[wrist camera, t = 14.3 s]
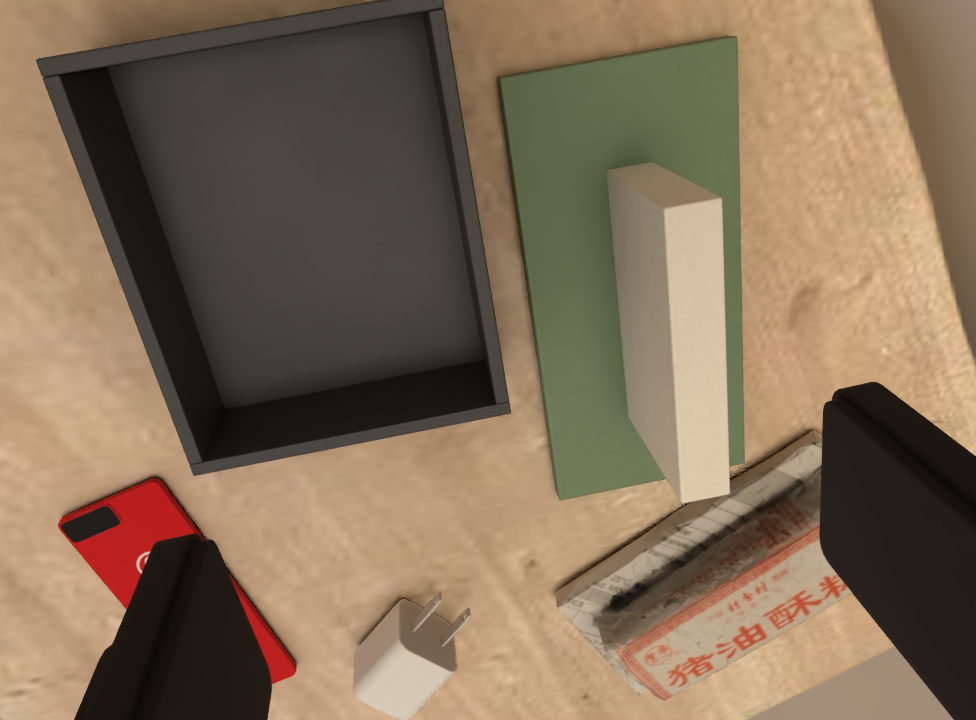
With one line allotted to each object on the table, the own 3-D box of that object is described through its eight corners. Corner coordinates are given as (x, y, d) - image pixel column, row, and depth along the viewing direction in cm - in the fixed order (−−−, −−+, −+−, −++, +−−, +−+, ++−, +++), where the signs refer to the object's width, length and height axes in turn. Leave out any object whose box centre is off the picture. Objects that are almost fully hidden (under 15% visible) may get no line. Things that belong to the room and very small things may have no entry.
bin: (91, 53, 31) (34, 59, 26) (433, -5, 32) (441, -11, 27) (218, 417, 38) (193, 476, 33) (495, 363, 39) (511, 413, 34)
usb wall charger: (355, 643, 45) (352, 698, 41) (425, 564, 43) (428, 613, 40) (410, 670, 46) (411, 725, 43) (479, 594, 45) (487, 645, 41)
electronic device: (299, 667, 45) (158, 474, 39) (298, 674, 45) (155, 480, 38) (211, 703, 45) (57, 517, 39) (209, 711, 45) (53, 524, 39)
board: (605, 169, 34) (663, 208, 27) (652, 161, 34) (723, 197, 27) (628, 417, 40) (681, 505, 33) (668, 409, 40) (730, 494, 33)
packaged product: (862, 467, 38) (929, 586, 42) (812, 421, 43) (878, 533, 46) (566, 650, 41) (656, 746, 45) (548, 589, 45) (632, 681, 49)
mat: (496, 77, 33) (499, 78, 32) (728, 35, 34) (737, 36, 33) (555, 490, 42) (559, 501, 41) (737, 454, 43) (744, 463, 42)
